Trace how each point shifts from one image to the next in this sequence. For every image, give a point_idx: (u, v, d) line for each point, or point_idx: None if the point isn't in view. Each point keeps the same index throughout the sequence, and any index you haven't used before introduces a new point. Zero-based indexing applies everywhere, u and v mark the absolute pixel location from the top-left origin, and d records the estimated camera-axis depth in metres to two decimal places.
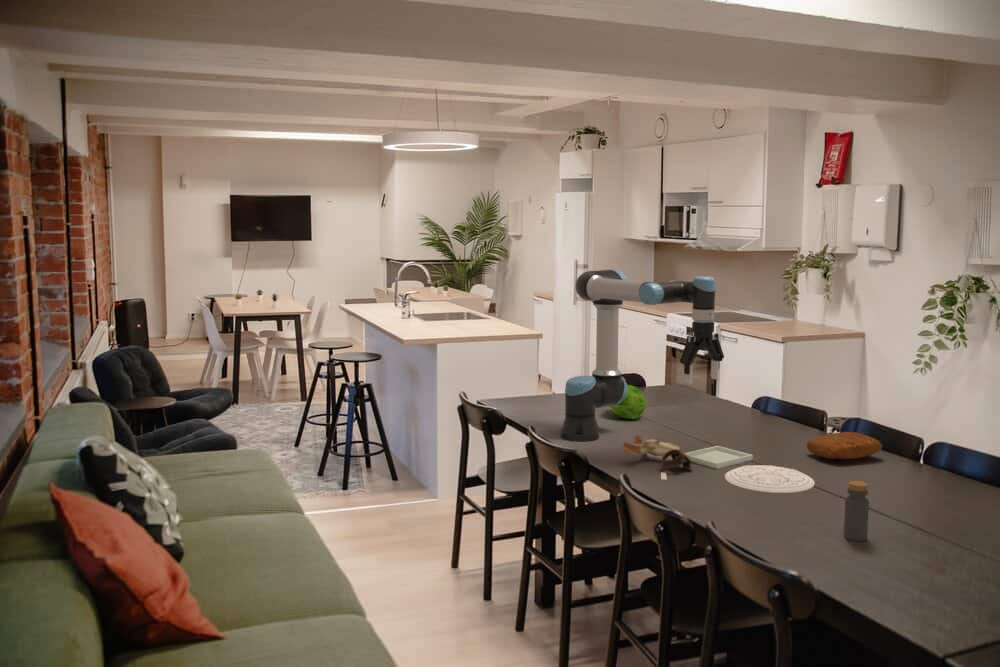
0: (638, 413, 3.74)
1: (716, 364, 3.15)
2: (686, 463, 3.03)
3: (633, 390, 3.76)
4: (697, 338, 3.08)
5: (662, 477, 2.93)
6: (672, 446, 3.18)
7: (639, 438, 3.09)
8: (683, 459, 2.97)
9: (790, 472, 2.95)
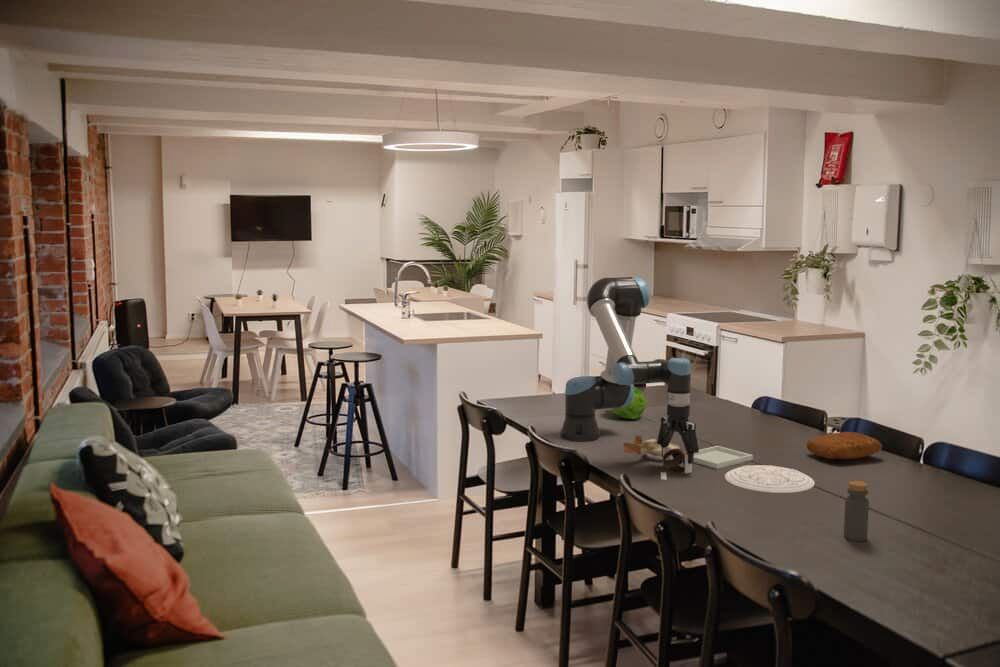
0: (638, 413, 3.74)
1: None
2: None
3: None
4: (667, 419, 3.03)
5: (662, 477, 2.93)
6: (672, 446, 3.18)
7: (639, 438, 3.09)
8: (683, 458, 2.98)
9: (790, 472, 2.95)
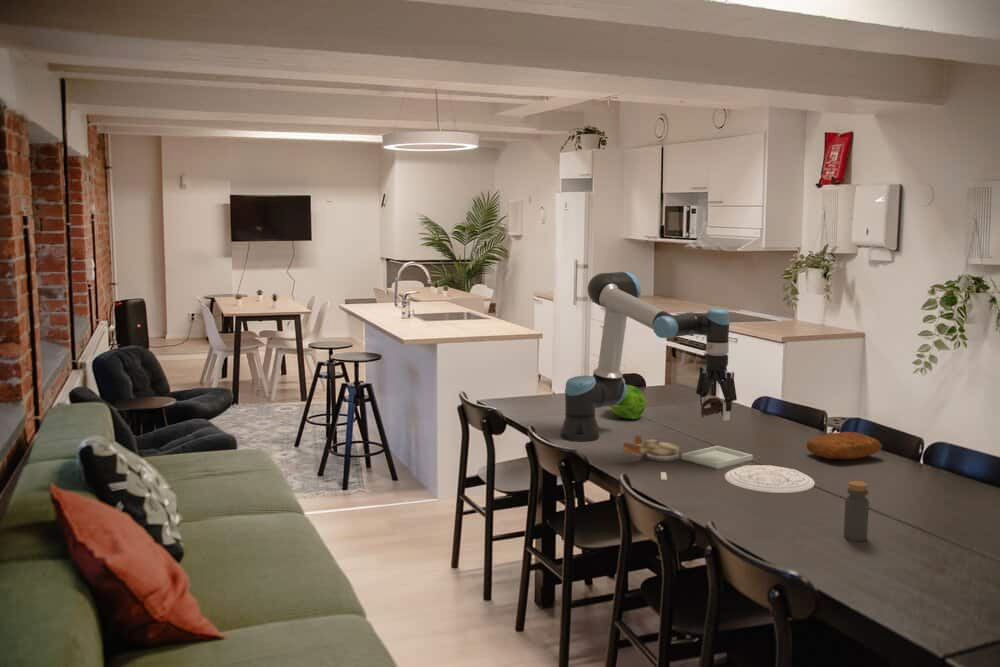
0: (638, 413, 3.74)
1: None
2: None
3: (633, 390, 3.76)
4: (706, 369, 3.12)
5: (662, 477, 2.93)
6: (672, 446, 3.18)
7: (639, 438, 3.09)
8: (721, 406, 3.07)
9: (790, 472, 2.95)
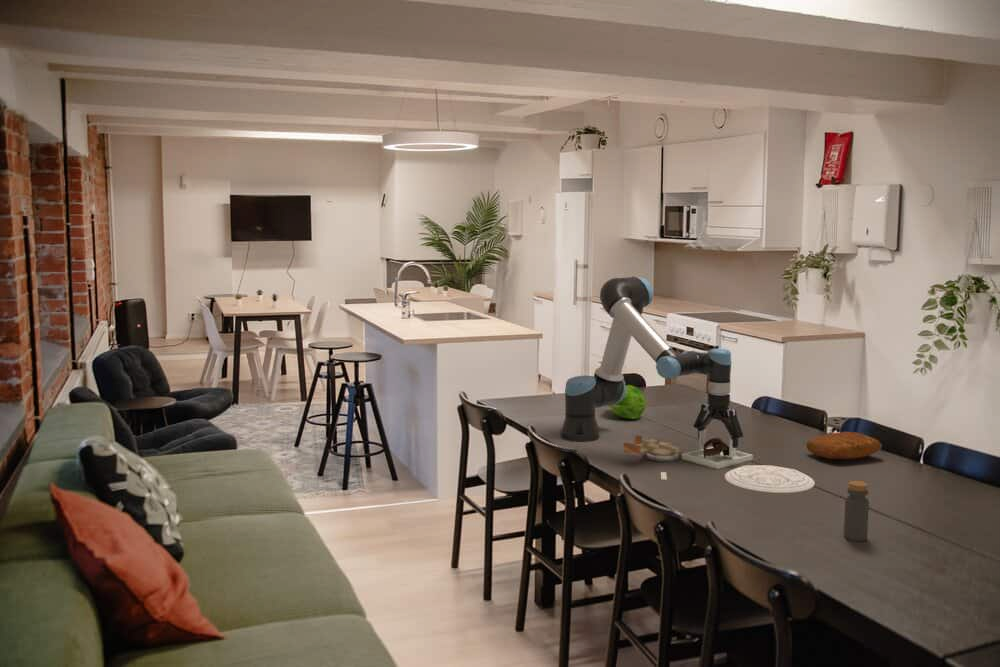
0: (638, 413, 3.74)
1: None
2: (726, 451, 3.16)
3: (633, 390, 3.76)
4: (708, 407, 3.15)
5: (662, 477, 2.93)
6: (672, 446, 3.18)
7: (639, 438, 3.09)
8: (723, 447, 3.10)
9: (790, 472, 2.95)
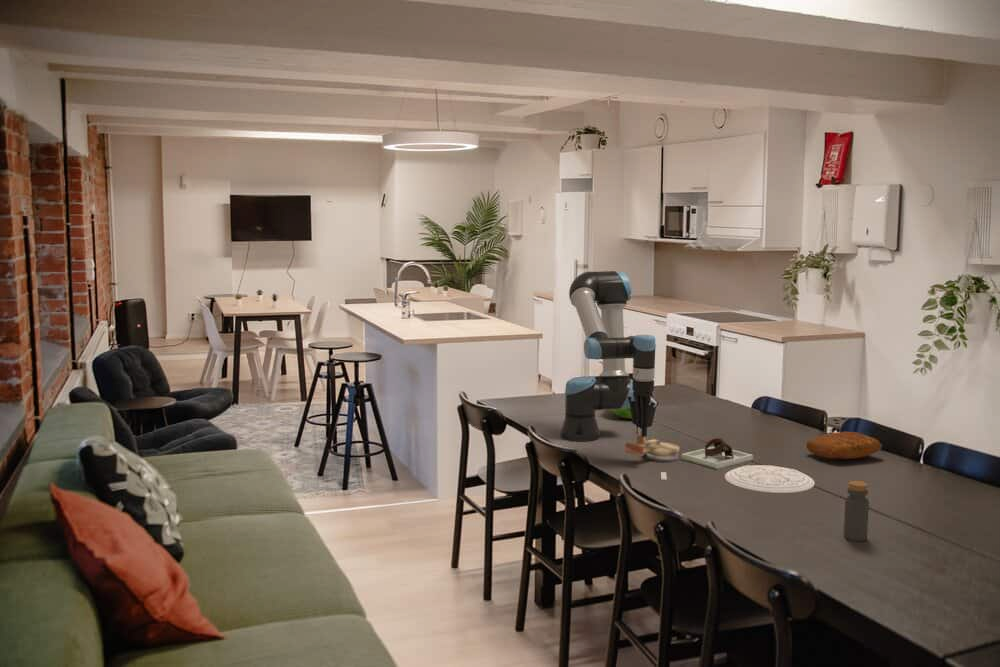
0: None
1: None
2: (728, 451, 3.15)
3: None
4: (633, 395, 3.13)
5: (662, 477, 2.93)
6: (672, 446, 3.18)
7: (641, 438, 3.08)
8: (725, 447, 3.10)
9: (790, 472, 2.95)
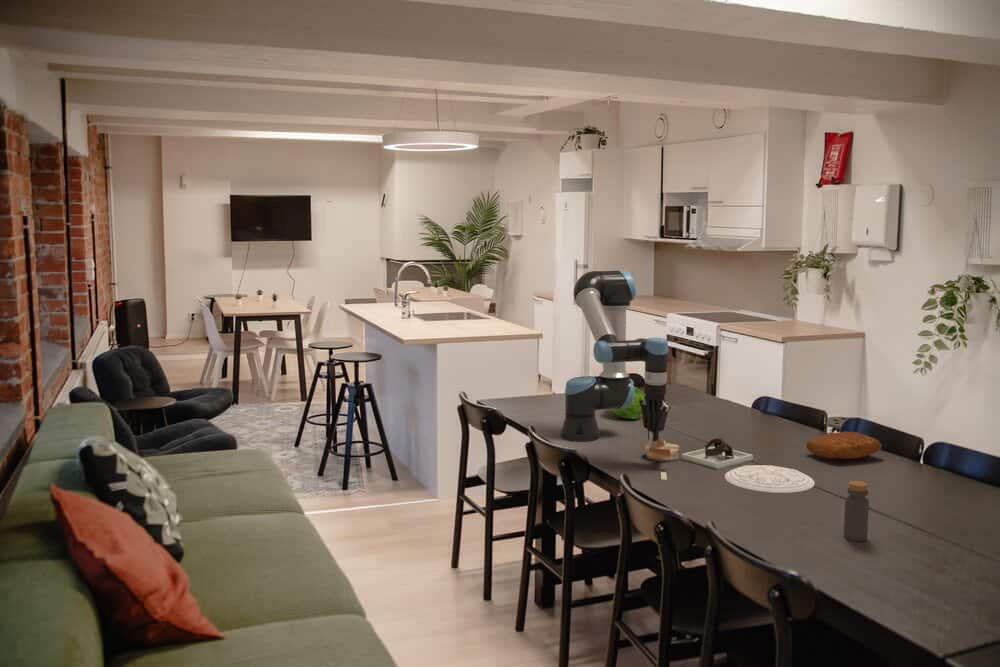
0: (638, 413, 3.74)
1: None
2: (728, 451, 3.15)
3: None
4: (645, 399, 3.09)
5: (662, 477, 2.93)
6: (669, 444, 3.20)
7: (663, 441, 3.05)
8: (725, 447, 3.10)
9: (790, 472, 2.95)
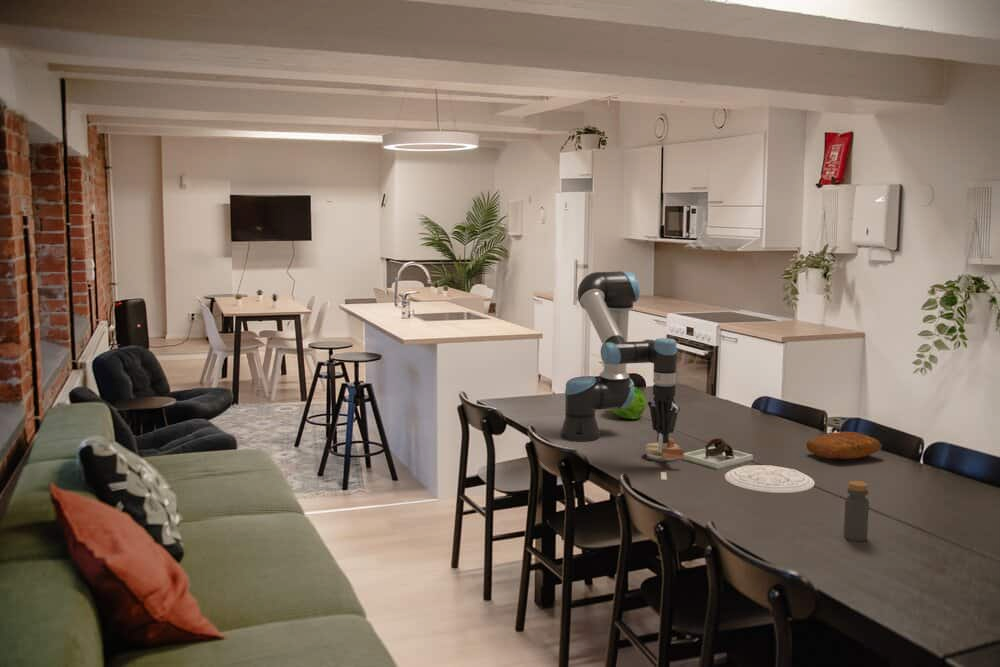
0: (638, 413, 3.74)
1: None
2: (728, 451, 3.15)
3: None
4: (654, 400, 3.05)
5: (662, 477, 2.93)
6: None
7: None
8: (726, 447, 3.10)
9: (790, 472, 2.95)
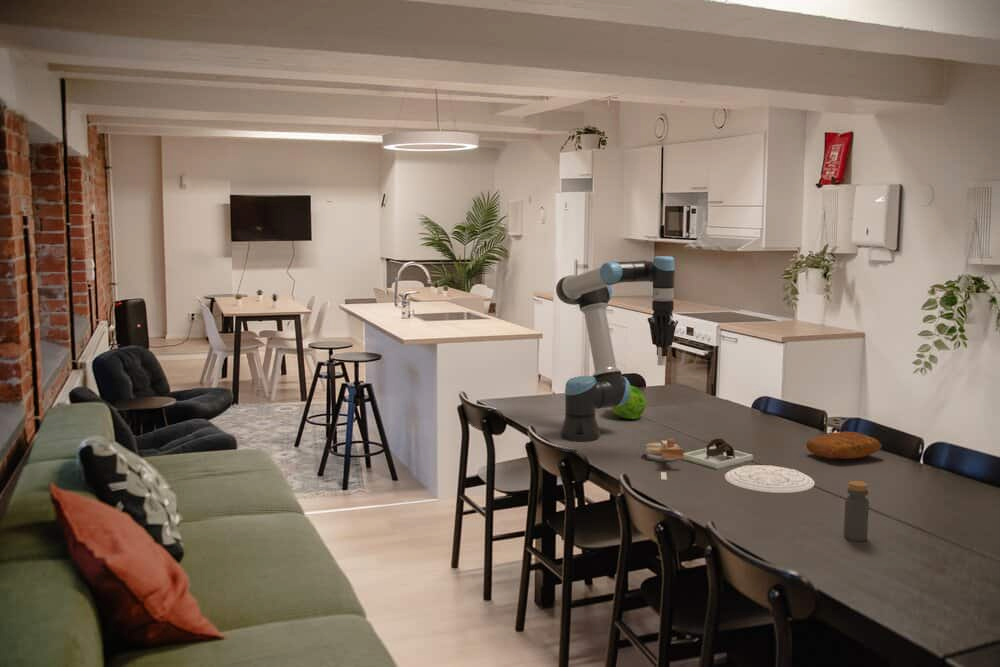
0: (638, 413, 3.74)
1: None
2: (729, 451, 3.15)
3: (633, 390, 3.76)
4: (653, 316, 3.21)
5: (662, 477, 2.93)
6: None
7: None
8: (727, 447, 3.10)
9: (790, 472, 2.95)
